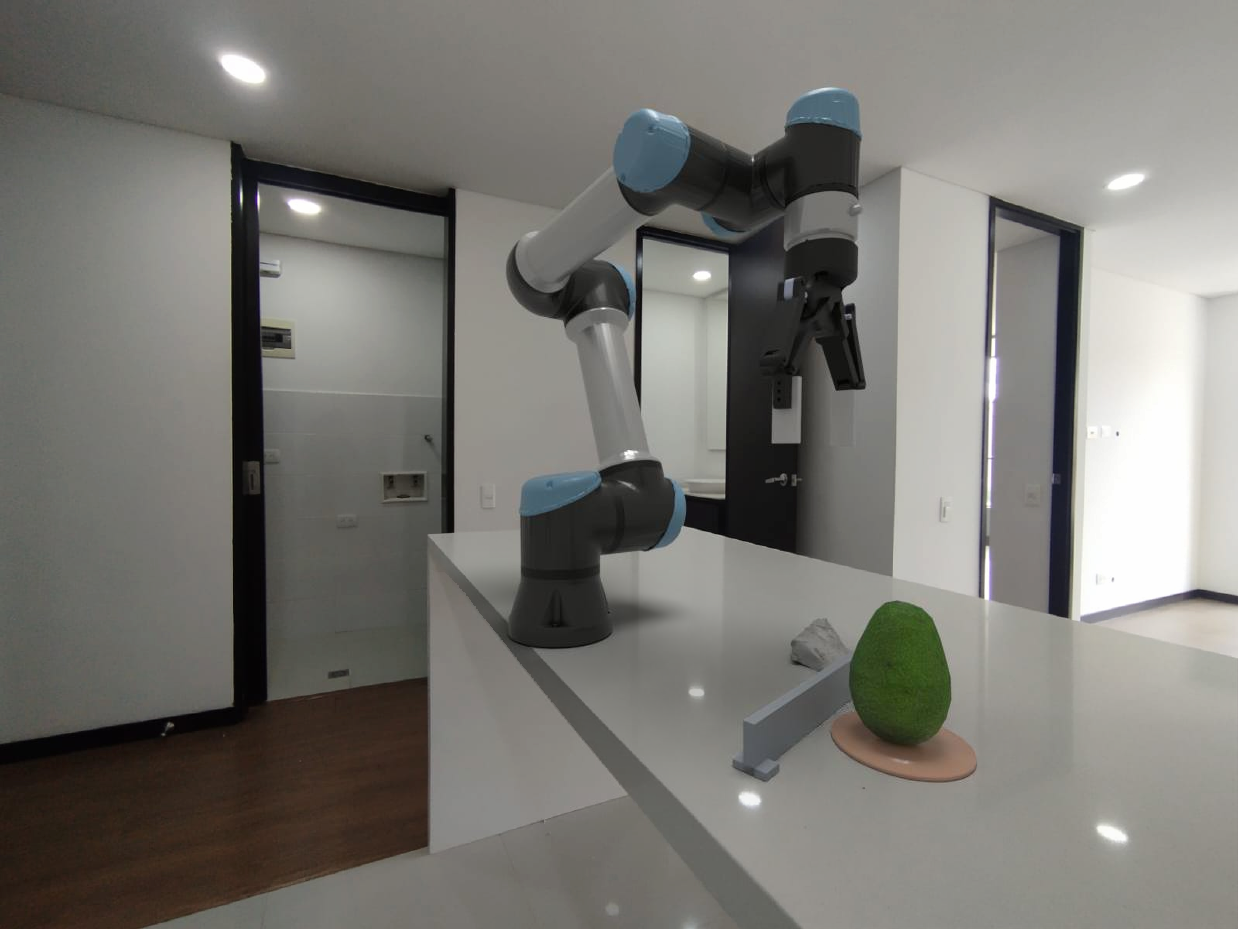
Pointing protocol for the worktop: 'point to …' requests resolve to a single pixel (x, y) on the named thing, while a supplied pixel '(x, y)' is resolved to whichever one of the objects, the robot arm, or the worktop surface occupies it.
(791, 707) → the acrylic wall
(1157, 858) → the worktop surface
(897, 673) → the fruit
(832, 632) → the stone
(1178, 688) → the worktop surface
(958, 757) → the saucer
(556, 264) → the robot arm
